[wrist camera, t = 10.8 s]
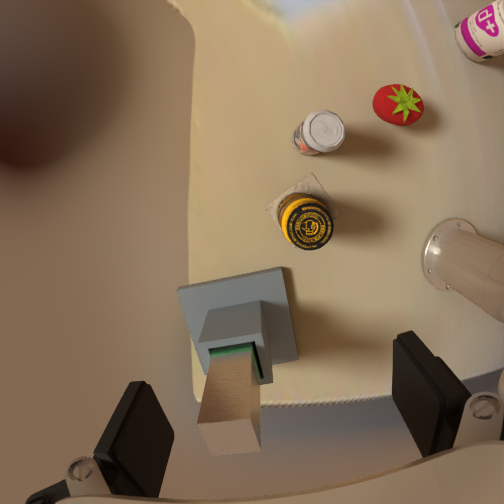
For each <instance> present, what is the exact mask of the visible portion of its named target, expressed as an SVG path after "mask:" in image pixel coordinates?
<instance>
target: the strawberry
mask: <svg viewBox="0 0 504 504" xmlns="http://www.w3.org/2000/svg"><path fill="white" fill-rule="evenodd" d="M373 109H374V111H375V113H376V114H377V116H378V117H379V118H381V119H382V120H384V121H386V122H388V123H391V124H394V125H399V126H406V125H410V124H412V123H414V122H415V121H417V120H418V119H419V118H420V117H421V116H422V114H423V110H424V106H423V102H422V99H421V98H420V96H419V95H418V94H417V93H416V92H415V91H414V90H413V88H412V89H411V88H409V87H407V86H404V85H402V84H401V85H399V84H393V85H387V86H384V87H382V88H380V89H379V90H378V91H377V92H376V94H375V96H374V99H373Z"/></svg>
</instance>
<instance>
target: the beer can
mask: <svg viewBox="0 0 504 504" xmlns="http://www.w3.org/2000/svg"><path fill="white" fill-rule="evenodd" d="M345 134H346V132H345V126H344V123H343V121H342V120H341V118H340V117H339V116H338V115H336V114H335V113H333V112H331V111H328V110H318V111H315V112H312V113H311V114H310V115H309V116H308V117H307V118H306V119H305V120H304V121H303V122H302V123H301V124H300V125H299V126H298V127H297V128H296V129H295V130H294V132H293V135H292V143H293V146H294V147H295V149H296V150H297V151H298V152H299V153H301V154H303V155H306V156H313V155H316V154H318V153H322V152H330V151H334V150H336V149H337V148H339V147H340V145H341V144H342V143H343V141H344V139H345Z"/></svg>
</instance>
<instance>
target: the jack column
mask: <svg viewBox="0 0 504 504" xmlns="http://www.w3.org/2000/svg"><path fill="white" fill-rule="evenodd" d="M210 356H211V360H210V365H209V369H208V374H207V378H206V383H205V388H204V392H203V397H202V401H201V406H200V411H199V415H198V420H197V426H198V428H199V430H200V432H201V434H202V436H203V438H204V440H205V442H206V444H207V446H208V448H209V450H210V452H211V454H212V455H226V454H237V453H247V452H256V451H261V418H260V417H261V414H260V382H261V376H260V360H259V356H258V352H257V348H256V344H255V341H252V342H246V343H240V344H234V345H228V346H222V347H216V348H213V351H211V355H210Z"/></svg>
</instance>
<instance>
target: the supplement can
mask: <svg viewBox="0 0 504 504" xmlns="http://www.w3.org/2000/svg"><path fill="white" fill-rule="evenodd" d="M454 37H455V40H456V43H457V45H458V47H459V48H460V50H461V51H462V52H463V53H464V54H465V55H466V56H467V57H468V58H470V59H471V60H473V61H476V62H482V61H485V60H488V59H490V58H493V57H496V56H499V55H501V54H504V0H497V1H495V2H493V3H491V4H490V5H488V6H486V7H484V8H483V9H481V10H479V11H477V12H476V13H474V14H472V15H471V16H469V17H467V18H466V19H464V20H462V21H461V22H459V23H458V24H456V25H455V28H454Z"/></svg>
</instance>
